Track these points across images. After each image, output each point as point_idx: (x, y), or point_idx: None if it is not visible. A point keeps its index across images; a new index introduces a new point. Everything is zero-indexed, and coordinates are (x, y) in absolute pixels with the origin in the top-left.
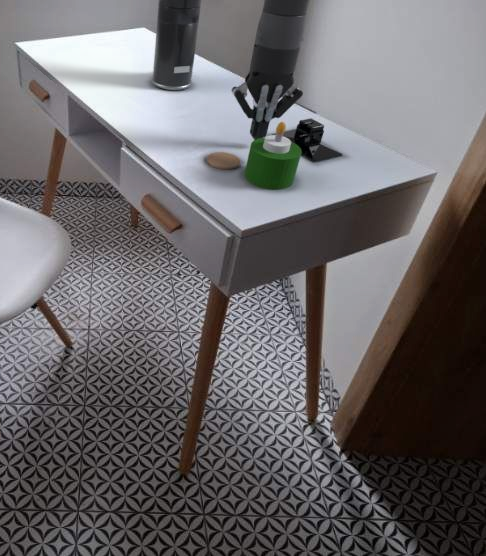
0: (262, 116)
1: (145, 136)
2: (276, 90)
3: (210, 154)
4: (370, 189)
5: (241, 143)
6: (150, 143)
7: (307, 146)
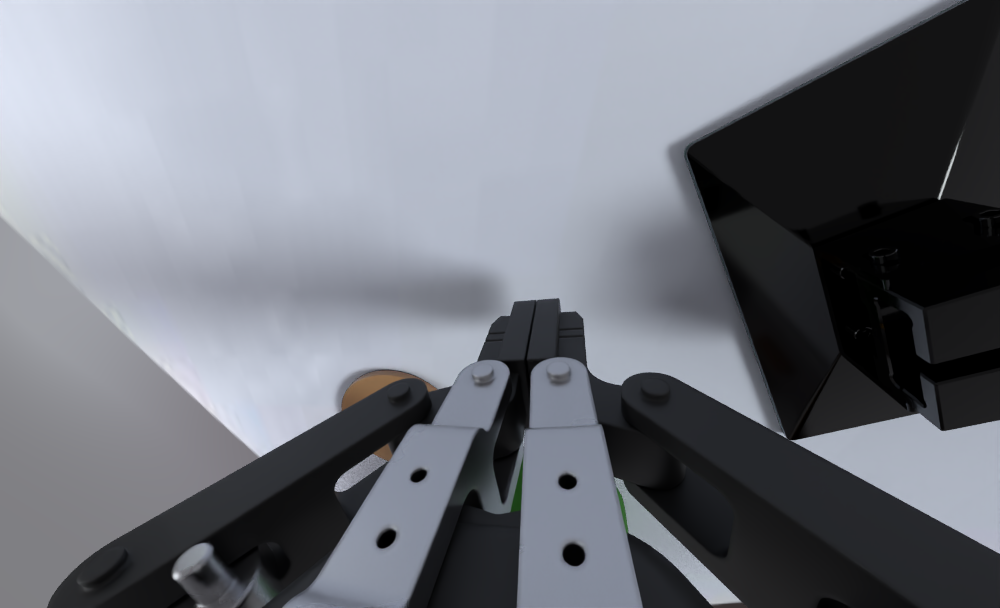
0: (517, 466)
1: (79, 233)
2: None
3: (349, 391)
4: None
5: (481, 269)
6: (129, 294)
7: (833, 350)
